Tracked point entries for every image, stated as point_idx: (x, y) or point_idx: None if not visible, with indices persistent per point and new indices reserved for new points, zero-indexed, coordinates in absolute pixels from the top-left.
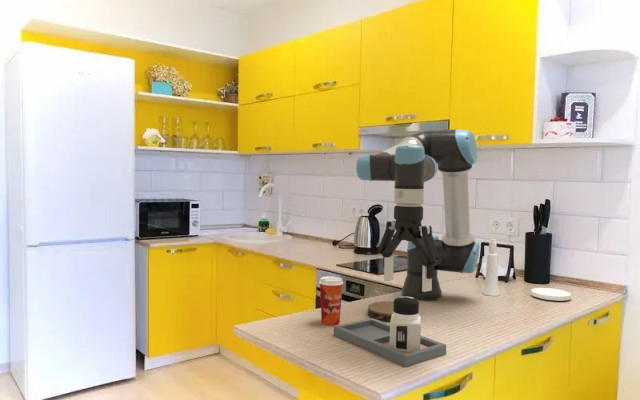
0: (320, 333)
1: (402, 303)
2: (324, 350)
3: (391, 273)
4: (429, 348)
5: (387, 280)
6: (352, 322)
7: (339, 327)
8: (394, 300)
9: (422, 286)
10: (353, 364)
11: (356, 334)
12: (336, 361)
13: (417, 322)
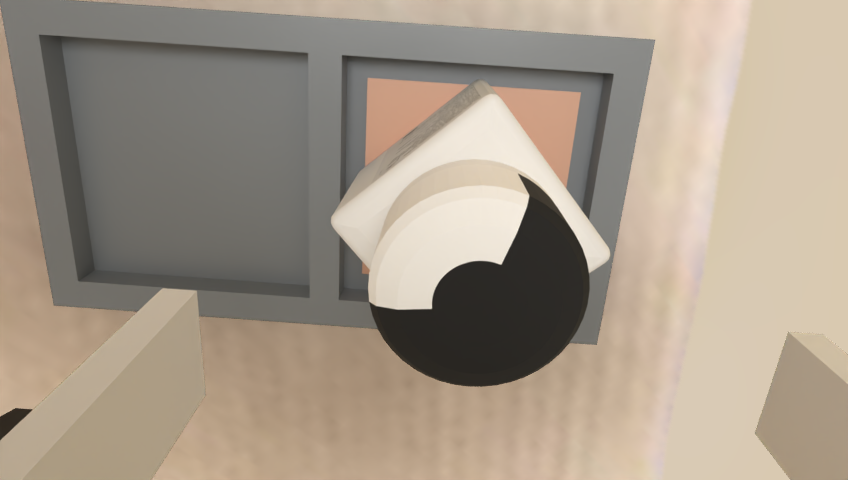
0: (33, 317)
1: (513, 380)
2: (238, 435)
3: (156, 366)
4: (615, 171)
5: (200, 379)
6: (33, 175)
7: (84, 295)
8: (411, 365)
9: (790, 473)
10: (423, 447)
11: (225, 304)
12: (360, 471)
13: (591, 262)
